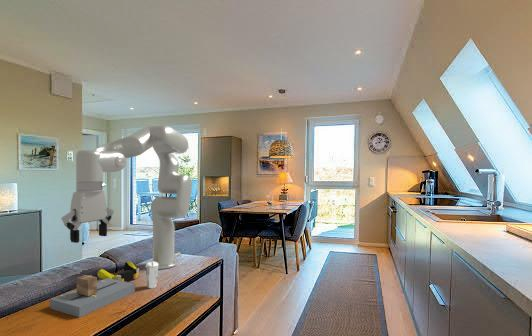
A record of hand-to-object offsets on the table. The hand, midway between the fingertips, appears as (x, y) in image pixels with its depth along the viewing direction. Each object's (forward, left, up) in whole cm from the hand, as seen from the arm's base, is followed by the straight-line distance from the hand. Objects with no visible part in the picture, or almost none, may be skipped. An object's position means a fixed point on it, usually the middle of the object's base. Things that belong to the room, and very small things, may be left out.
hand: (89, 238), depth 96 cm
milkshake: (-18, +10, -21) cm, 29 cm away
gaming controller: (-18, -7, -21) cm, 29 cm away
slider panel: (-2, +1, -21) cm, 21 cm away
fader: (+1, +1, -17) cm, 17 cm away
